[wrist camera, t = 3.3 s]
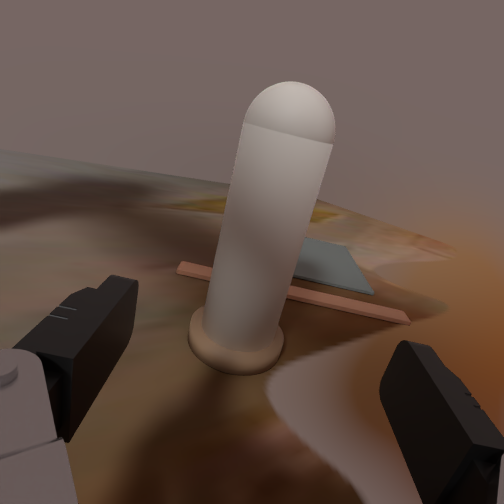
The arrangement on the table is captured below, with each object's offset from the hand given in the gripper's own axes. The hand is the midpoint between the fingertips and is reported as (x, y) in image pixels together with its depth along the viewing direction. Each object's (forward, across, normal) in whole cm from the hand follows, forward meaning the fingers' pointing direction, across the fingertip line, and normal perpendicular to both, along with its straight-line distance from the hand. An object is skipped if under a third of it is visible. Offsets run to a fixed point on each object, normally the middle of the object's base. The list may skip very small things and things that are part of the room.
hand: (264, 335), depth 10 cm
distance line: (+20, -5, +8) cm, 22 cm away
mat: (+31, -6, +8) cm, 33 cm away
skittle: (+11, 0, +8) cm, 14 cm away
